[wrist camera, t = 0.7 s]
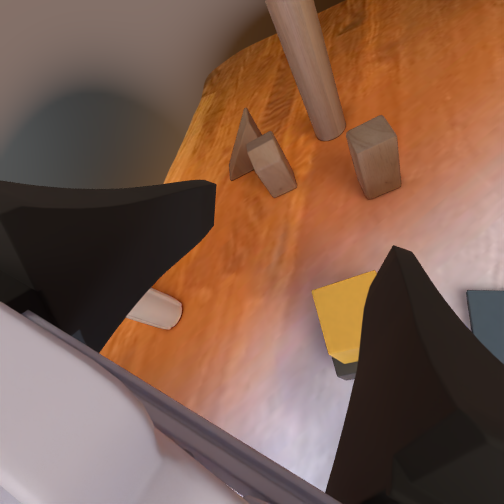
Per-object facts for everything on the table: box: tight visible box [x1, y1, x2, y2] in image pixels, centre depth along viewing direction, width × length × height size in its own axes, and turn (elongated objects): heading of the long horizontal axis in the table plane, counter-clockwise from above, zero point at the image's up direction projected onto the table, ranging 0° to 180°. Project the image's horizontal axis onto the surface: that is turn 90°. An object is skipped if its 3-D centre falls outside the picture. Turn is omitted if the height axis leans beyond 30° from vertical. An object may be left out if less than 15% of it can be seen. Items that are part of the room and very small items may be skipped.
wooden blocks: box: [229, 0, 401, 199], centre depth 28 cm, size 17×20×20 cm
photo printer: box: [126, 288, 182, 329], centre depth 33 cm, size 10×4×12 cm, turn 66°
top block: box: [312, 270, 377, 364], centre depth 19 cm, size 4×4×4 cm
